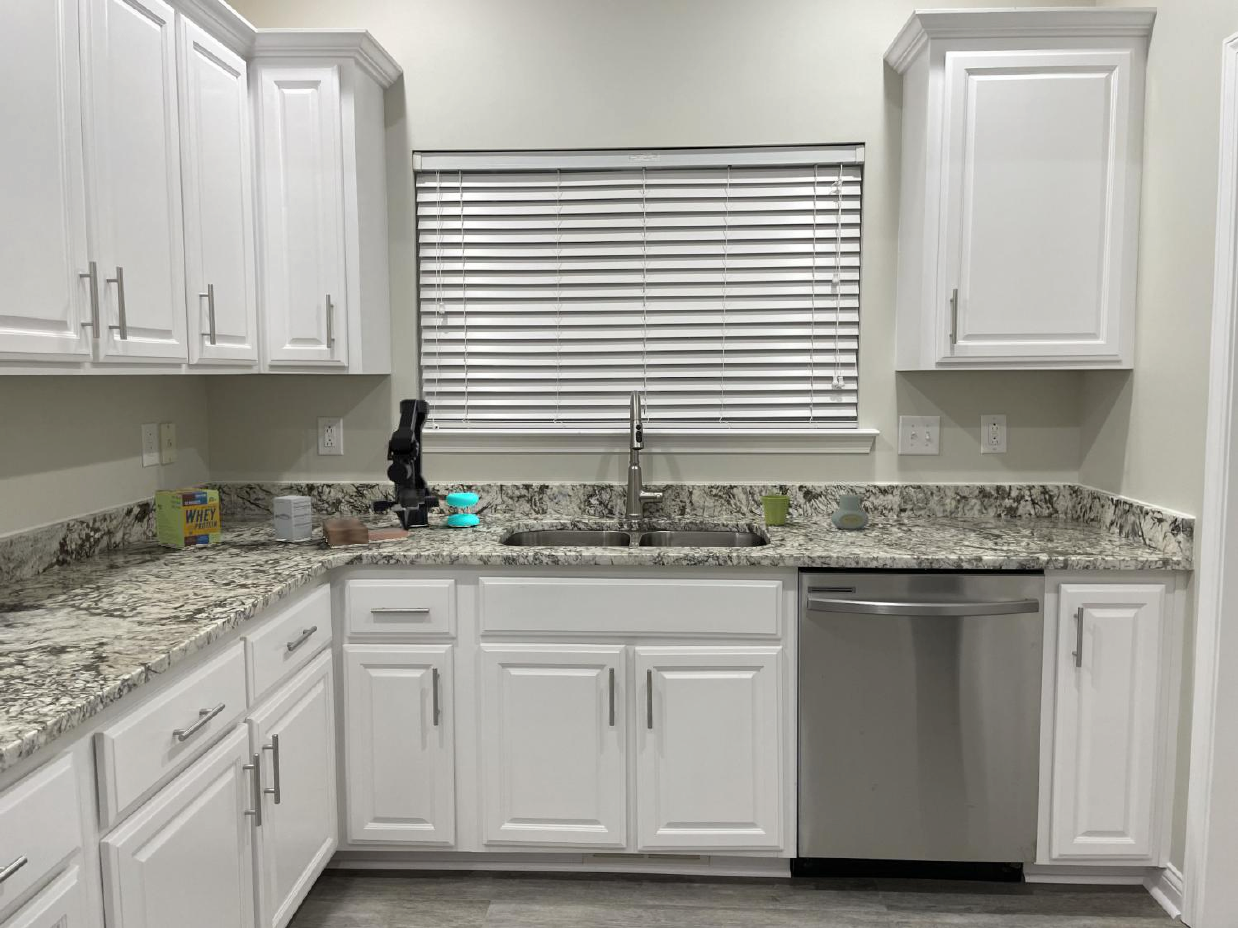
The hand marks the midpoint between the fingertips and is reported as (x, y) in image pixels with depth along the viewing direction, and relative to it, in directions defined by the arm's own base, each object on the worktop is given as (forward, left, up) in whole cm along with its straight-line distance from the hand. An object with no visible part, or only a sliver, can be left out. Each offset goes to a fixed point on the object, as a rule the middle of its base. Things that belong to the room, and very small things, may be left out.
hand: (406, 533), depth 259 cm
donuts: (-20, -13, -2) cm, 24 cm away
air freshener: (-123, +45, -2) cm, 131 cm away
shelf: (+17, 0, -1) cm, 17 cm away
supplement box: (+30, -9, -2) cm, 31 cm away
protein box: (+57, -14, -2) cm, 59 cm away
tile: (+8, +2, -2) cm, 9 cm away
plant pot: (-108, +28, -2) cm, 112 cm away
